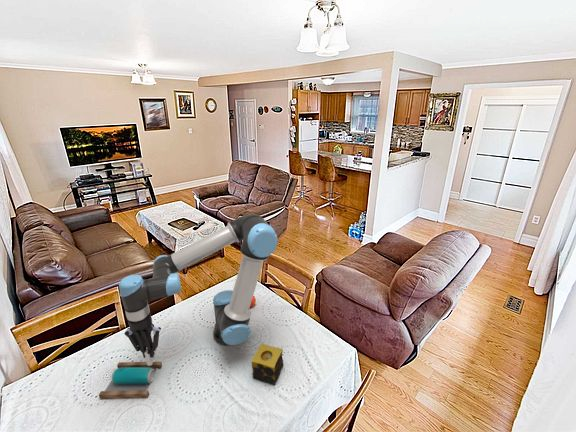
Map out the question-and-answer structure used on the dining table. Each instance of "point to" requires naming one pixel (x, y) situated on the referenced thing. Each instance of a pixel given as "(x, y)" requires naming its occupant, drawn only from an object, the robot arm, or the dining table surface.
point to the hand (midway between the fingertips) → (151, 362)
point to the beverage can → (133, 375)
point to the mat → (126, 387)
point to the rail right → (140, 364)
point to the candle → (267, 364)
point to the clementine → (253, 301)
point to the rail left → (124, 394)
